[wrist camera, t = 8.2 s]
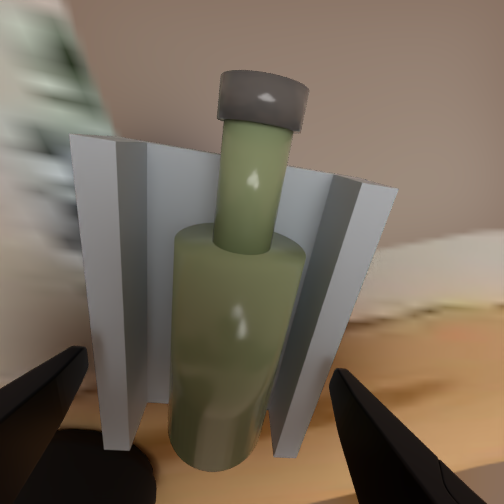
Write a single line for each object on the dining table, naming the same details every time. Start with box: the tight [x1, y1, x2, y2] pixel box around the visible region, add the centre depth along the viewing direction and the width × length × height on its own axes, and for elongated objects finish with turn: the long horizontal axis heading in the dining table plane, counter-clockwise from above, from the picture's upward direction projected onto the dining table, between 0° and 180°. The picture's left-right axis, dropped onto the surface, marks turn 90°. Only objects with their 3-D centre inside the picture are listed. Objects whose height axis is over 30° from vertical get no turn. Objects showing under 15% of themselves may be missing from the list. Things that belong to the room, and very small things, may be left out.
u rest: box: [69, 134, 398, 458], centre depth 11 cm, size 14×10×3 cm
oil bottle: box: [168, 70, 309, 472], centre depth 9 cm, size 14×4×4 cm, turn 171°
